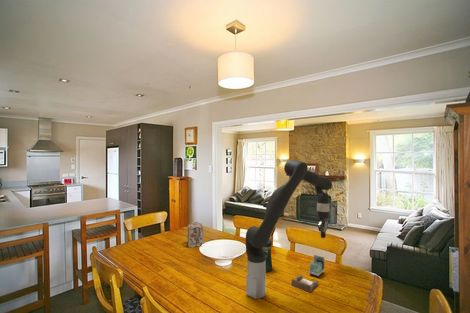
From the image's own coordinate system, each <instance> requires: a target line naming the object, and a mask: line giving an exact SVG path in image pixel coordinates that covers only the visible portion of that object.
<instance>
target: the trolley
mask: <svg viewBox="0 0 470 313" xmlns="http://www.w3.org/2000/svg"><path fill="white" fill-rule="evenodd" d="M324 271H325V257H323V256H320V255H317V254H314V255H313V260H312V261H311V262H310V263H309V270H308V274H309V275H310V276H312V275H314V276H316V277H317V278H320V275H321V274H324Z"/></svg>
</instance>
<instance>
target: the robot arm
mask: <svg viewBox="0 0 470 313" xmlns="http://www.w3.org/2000/svg"><path fill="white" fill-rule="evenodd" d="M283 167H284V168H283V170H284V172H285V174H286V175H287V176H289V179H288V180H287V182H286V183H284V184H282V185H281V186H279V187H278V188H277V189H275V190H274V191H273V192H272V194H271V195H270V197H269V199H268V200H267V202H266V206H265V214H264V217H263V220H262V222H261V223H260V225H259V226H256V225H252V226H250V227H249V228H247V230H246V231H245V232H246V233H245V253H246V256H247V270H246V271H247V275H246V278H245V280H246V281H245V282H246V291H245V292H246V293H245V294H246V296H249V297H251V298H252V299H253V300H254V299H255V300H258V299H262V298H264V297H265V296H266V294H267V292H266V289H267V288H266V287H267V286H266V280H267V279H266V275H267V274H266V273H267V271H266V256H265V253H264V251H263V247H265V245H266V244H267V243H268V241H269V239H271V236H272V234H273V231H274V228H275V227H276V225H277V223H278V221H279V219H280V218H281V216H282V214H283V213H284V211H285V209H286V207H287V205H288V203H289V201H290V199H291V197H292V195H293V194H294V193H295V190H297V188H298V187H299V185H300V184H301V182H302V181H305V182H306V183H308V184H311V186H314V189H315V193H316V197H317V198H316V200H317V201H316V217H317V218H318V219H319V220H318V223H317V228H318V231H319V232H320V238H321V239H325V238H326V237H327V236H326V235H327V234H326V233H327V230H328V227H329V222H330V221H329V220H328V219H330V218H331V217H330V212H331V211H330V209H331V208H330V196H329V194H328V193H325V192H324V191H329V190H331V189H332V187H333V183H332V180H331V179H329V178H328V177H324V176H322V175H319V174H318V173H316V172H314V171H310V170H309V169H308V164H307V163H306V162H304V161H301V160H295V159H289V160H287V161H286V162H285V163H284V166H283Z"/></svg>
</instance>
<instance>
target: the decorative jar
mask: <svg viewBox="0 0 470 313" xmlns="http://www.w3.org/2000/svg"><path fill="white" fill-rule="evenodd" d="M204 232H205V231H204V225H203V224H202V223H200V222H199V221H192V222H191V223H189V224H188V225H187V236H186V237H187V246H188V248H189V247H192V248H196V247H195V246H200V245H202V244H203V243H204V242H205V238H204V237H205V233H204Z"/></svg>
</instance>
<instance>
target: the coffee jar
mask: <svg viewBox="0 0 470 313" xmlns="http://www.w3.org/2000/svg"><path fill="white" fill-rule="evenodd" d="M272 242H273V241H272V239H271V238H270V239H269V241H268V243H267V244H266V245H265V247H263V251H264V253H265V256H266V272H271V271H272V270H273V261H272V260H273V259H272V248H273V243H272Z"/></svg>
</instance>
